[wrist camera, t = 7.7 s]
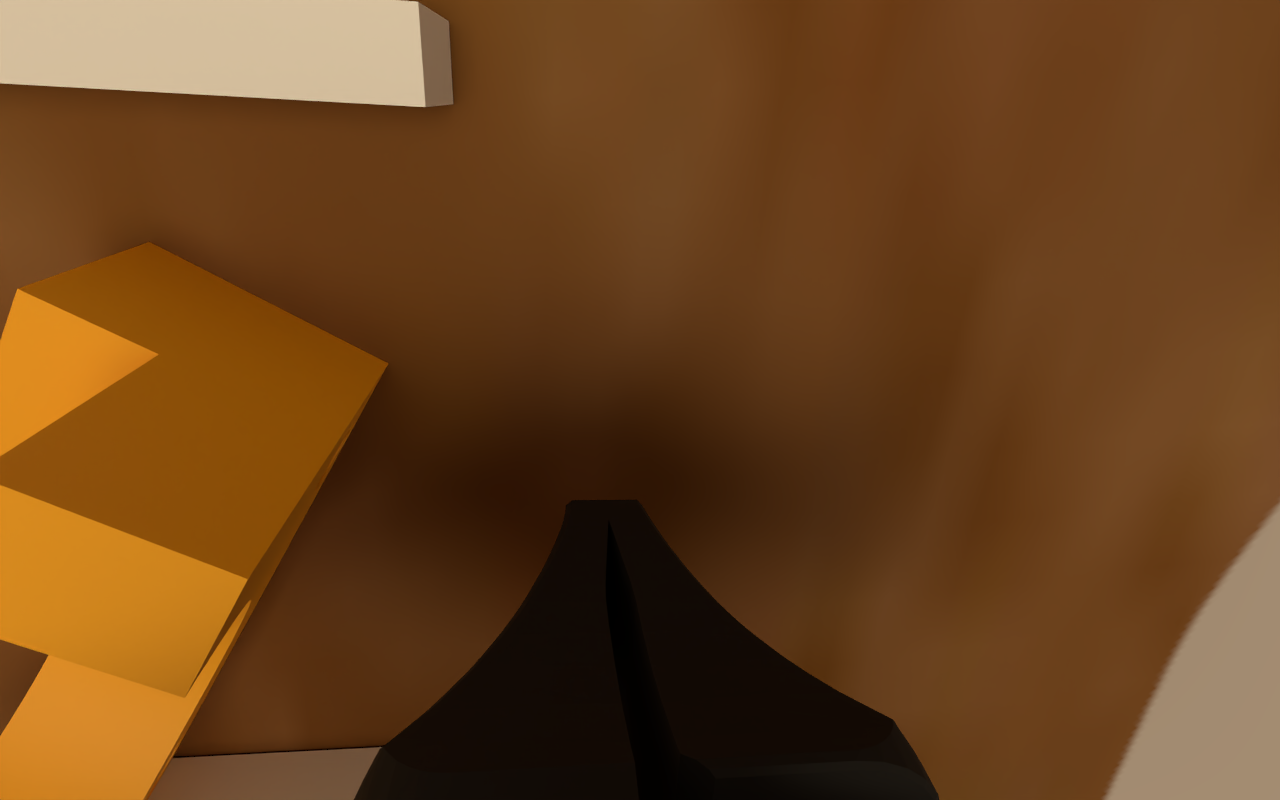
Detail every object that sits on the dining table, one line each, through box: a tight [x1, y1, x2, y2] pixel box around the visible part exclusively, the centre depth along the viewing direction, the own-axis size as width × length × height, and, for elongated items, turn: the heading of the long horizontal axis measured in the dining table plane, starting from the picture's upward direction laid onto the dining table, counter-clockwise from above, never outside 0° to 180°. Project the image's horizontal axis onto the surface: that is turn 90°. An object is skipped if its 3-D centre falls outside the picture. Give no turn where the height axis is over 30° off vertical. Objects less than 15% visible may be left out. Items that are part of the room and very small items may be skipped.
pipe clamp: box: [0, 242, 389, 800], centre depth 11 cm, size 12×4×6 cm, turn 146°
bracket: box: [0, 0, 453, 800], centre depth 12 cm, size 17×15×2 cm
